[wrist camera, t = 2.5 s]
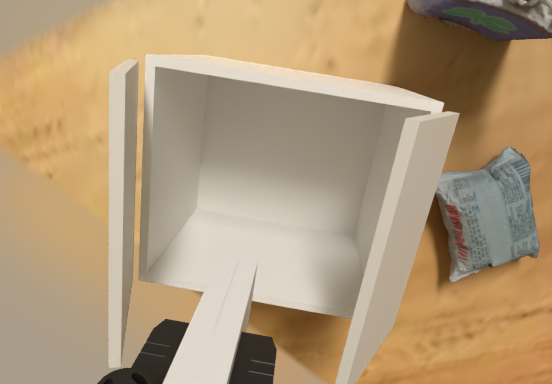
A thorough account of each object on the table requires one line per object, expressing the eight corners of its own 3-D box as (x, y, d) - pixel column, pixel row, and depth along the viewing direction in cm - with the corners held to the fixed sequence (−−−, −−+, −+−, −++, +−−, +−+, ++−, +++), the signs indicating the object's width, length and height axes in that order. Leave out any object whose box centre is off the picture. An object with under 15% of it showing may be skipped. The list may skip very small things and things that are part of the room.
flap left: (120, 366, 21) (108, 367, 20) (133, 277, 28) (124, 277, 28) (125, 73, 15) (109, 71, 15) (138, 60, 23) (128, 58, 23)
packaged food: (442, 267, 42) (459, 294, 37) (417, 167, 38) (432, 182, 34) (526, 246, 40) (555, 270, 36) (508, 139, 37) (538, 151, 32)
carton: (357, 238, 41) (378, 323, 28) (192, 209, 42) (138, 280, 29) (395, 85, 36) (444, 102, 23) (205, 55, 36) (145, 54, 23)
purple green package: (400, 9, 34) (443, -13, 23) (416, -30, 33) (469, -73, 22) (506, 47, 34) (597, 42, 23) (525, 10, 33) (630, -14, 22)
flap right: (385, 322, 28) (393, 326, 27) (331, 397, 21) (341, 403, 21) (449, 111, 22) (459, 113, 22) (405, 118, 16) (420, 121, 15)
